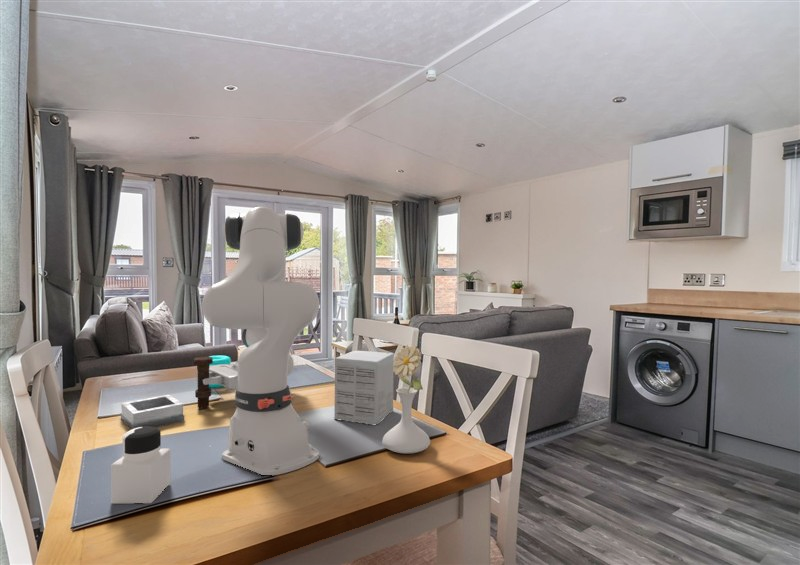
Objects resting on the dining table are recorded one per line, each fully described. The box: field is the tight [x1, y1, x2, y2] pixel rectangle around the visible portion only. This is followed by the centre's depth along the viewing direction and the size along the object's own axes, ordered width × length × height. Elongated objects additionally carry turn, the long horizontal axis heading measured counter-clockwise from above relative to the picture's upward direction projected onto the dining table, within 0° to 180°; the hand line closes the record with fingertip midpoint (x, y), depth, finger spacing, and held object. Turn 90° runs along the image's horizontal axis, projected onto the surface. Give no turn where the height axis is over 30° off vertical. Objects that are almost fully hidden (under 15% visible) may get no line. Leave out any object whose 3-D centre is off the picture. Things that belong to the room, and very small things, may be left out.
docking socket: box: [120, 394, 185, 430], centre depth 119 cm, size 14×12×4 cm
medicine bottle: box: [110, 426, 172, 505], centre depth 80 cm, size 7×7×12 cm
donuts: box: [208, 354, 232, 389], centre depth 155 cm, size 10×10×10 cm
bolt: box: [193, 356, 213, 410], centre depth 129 cm, size 6×5×15 cm
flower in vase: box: [381, 344, 431, 455], centre depth 101 cm, size 13×11×25 cm
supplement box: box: [334, 349, 395, 425], centre depth 124 cm, size 13×13×18 cm
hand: (200, 380), depth 129 cm, fingers closed on bolt, 3 cm apart
